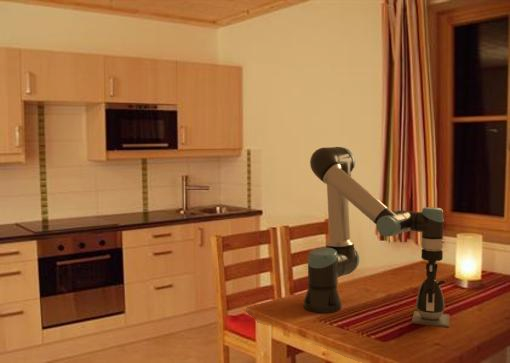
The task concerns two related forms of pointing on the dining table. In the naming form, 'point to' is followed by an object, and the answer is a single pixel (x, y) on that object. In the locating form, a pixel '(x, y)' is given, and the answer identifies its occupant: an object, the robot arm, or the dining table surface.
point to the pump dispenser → (438, 301)
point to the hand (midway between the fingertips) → (431, 305)
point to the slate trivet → (437, 322)
